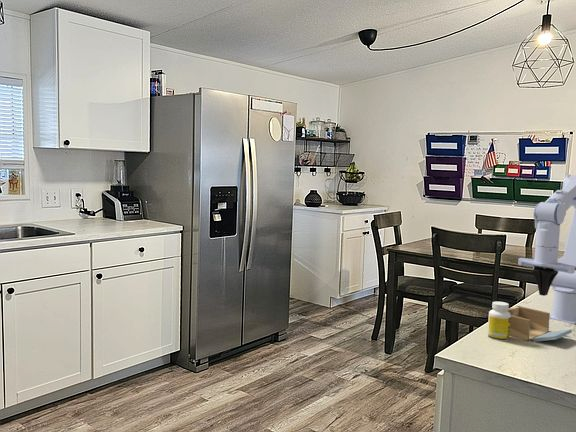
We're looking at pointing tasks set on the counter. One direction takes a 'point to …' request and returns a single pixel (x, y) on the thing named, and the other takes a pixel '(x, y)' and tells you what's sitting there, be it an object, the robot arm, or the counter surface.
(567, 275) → the robot arm
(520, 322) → the box
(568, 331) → the panel
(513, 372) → the counter surface
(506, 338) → the supplement bottle
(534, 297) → the counter surface
